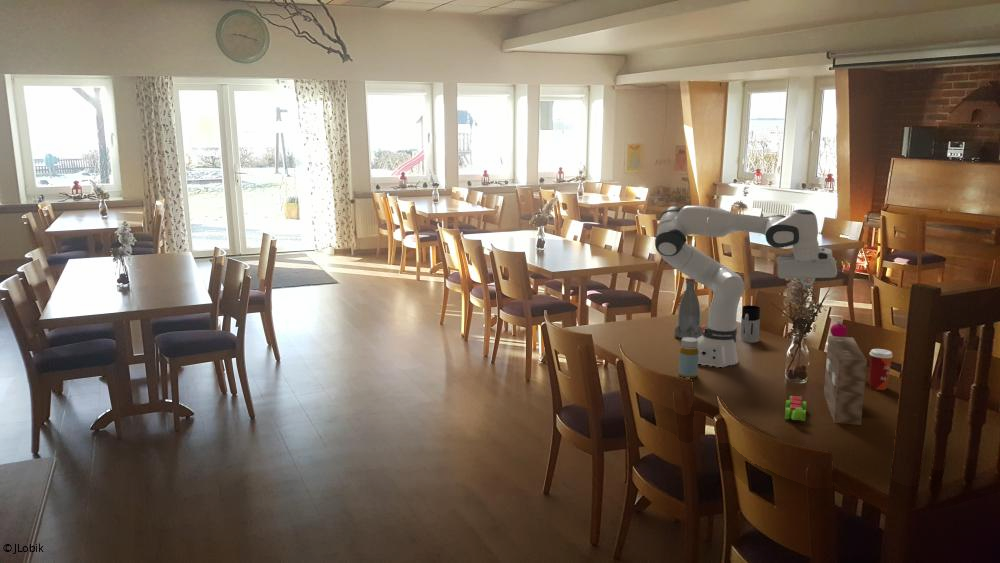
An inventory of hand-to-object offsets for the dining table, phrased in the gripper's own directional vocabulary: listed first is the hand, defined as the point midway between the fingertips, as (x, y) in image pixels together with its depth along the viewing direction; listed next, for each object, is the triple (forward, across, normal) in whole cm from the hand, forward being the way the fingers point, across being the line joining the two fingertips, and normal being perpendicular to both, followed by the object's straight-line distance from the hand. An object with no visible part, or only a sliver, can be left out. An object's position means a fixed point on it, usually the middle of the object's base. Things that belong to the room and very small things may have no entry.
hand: (807, 288), depth 271 cm
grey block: (+23, +10, -21) cm, 33 cm away
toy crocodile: (+32, -2, -40) cm, 52 cm away
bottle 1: (+34, -55, +34) cm, 73 cm away
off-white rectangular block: (+22, +13, -34) cm, 43 cm away
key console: (+34, +11, -28) cm, 46 cm away
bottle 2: (+30, -43, -17) cm, 55 cm away
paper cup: (+39, +22, -1) cm, 45 cm away
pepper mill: (+39, +7, +14) cm, 42 cm away
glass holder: (+37, -30, +39) cm, 62 cm away
